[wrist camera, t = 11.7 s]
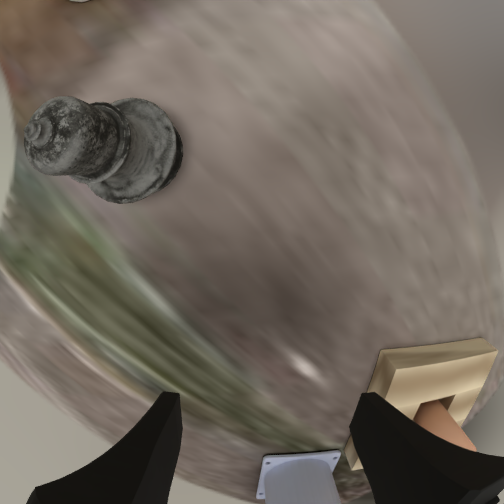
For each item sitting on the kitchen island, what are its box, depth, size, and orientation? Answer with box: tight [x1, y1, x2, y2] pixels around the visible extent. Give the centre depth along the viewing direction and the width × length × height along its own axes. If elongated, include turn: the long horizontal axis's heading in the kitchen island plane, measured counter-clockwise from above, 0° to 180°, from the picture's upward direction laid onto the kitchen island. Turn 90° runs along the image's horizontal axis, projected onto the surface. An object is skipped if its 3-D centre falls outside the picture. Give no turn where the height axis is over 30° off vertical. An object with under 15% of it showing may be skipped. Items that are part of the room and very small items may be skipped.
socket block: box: [344, 338, 498, 471], centre depth 22 cm, size 13×13×3 cm
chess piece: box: [24, 96, 183, 204], centre depth 12 cm, size 6×6×12 cm
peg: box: [413, 399, 477, 452], centre depth 19 cm, size 3×3×10 cm
